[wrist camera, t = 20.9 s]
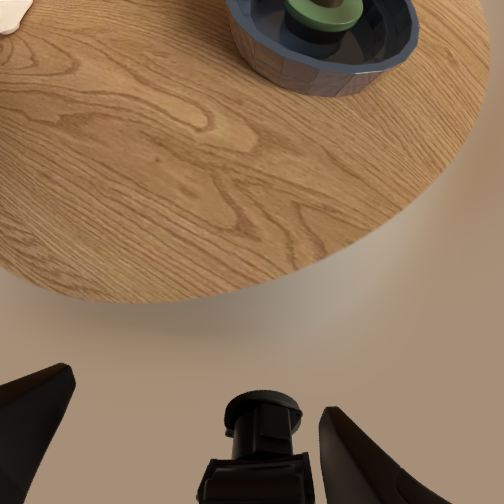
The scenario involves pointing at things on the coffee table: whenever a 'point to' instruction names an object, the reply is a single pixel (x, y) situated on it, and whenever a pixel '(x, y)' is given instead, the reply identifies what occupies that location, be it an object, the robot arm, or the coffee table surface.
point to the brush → (321, 18)
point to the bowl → (324, 46)
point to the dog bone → (12, 14)
